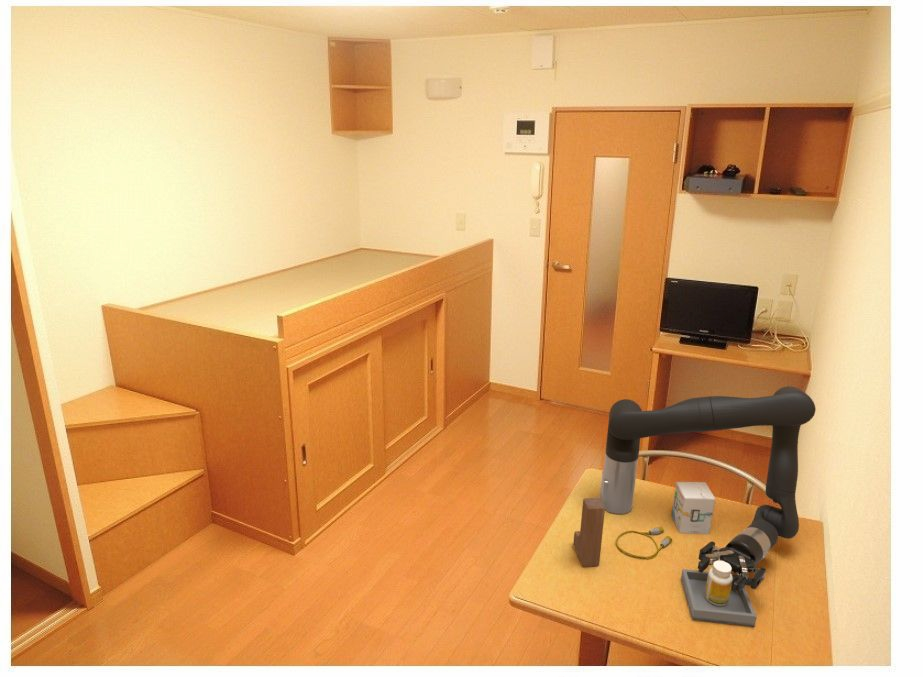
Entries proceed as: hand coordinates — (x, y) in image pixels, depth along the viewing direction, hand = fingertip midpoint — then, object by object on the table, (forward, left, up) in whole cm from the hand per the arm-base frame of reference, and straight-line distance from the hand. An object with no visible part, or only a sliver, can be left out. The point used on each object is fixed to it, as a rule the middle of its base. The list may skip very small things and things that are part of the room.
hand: (716, 578), depth 143 cm
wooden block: (-29, +13, -8) cm, 33 cm away
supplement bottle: (+1, +2, -7) cm, 8 cm away
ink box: (+1, +31, -8) cm, 33 cm away
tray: (+1, +1, -8) cm, 8 cm away
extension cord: (-13, +20, -9) cm, 26 cm away
